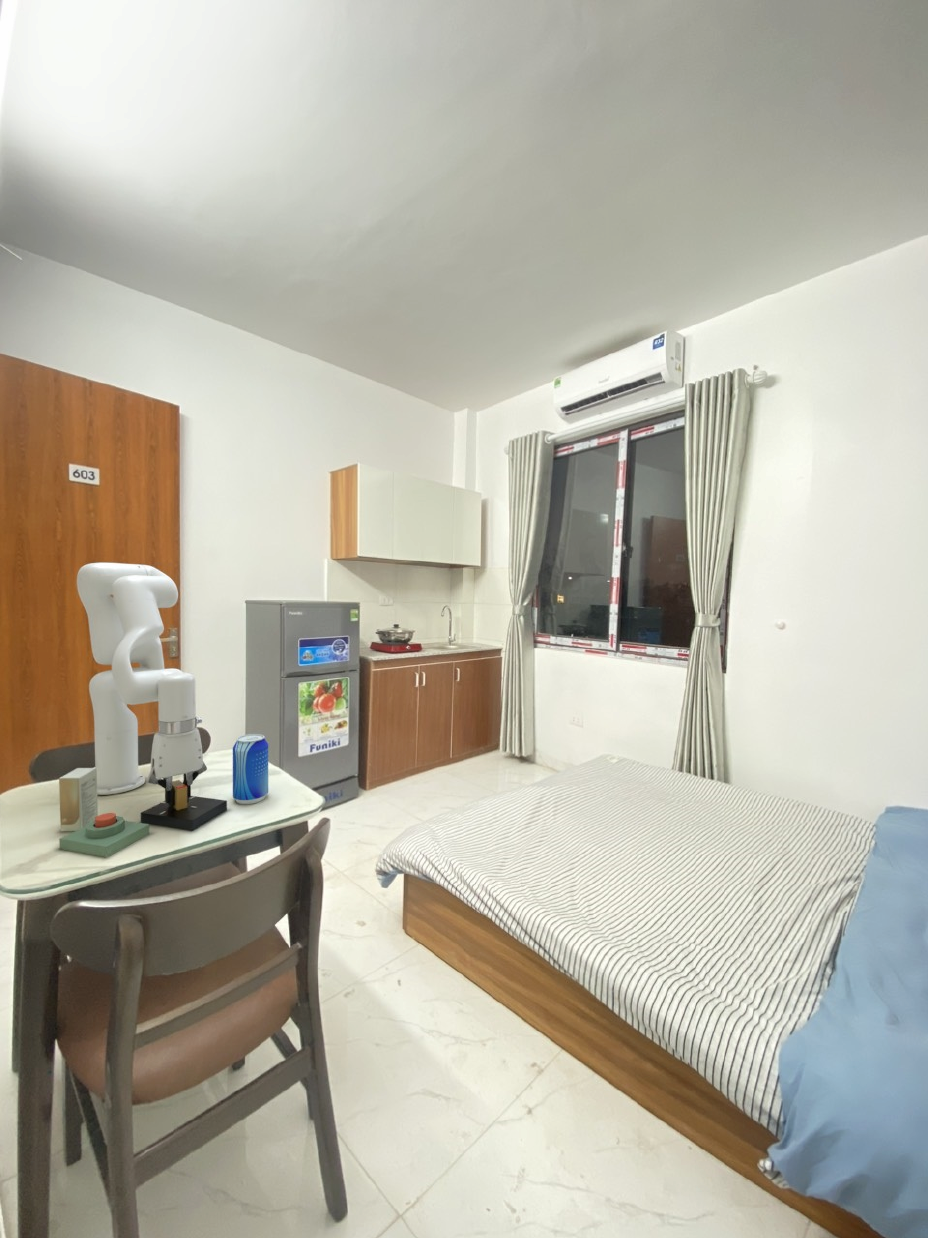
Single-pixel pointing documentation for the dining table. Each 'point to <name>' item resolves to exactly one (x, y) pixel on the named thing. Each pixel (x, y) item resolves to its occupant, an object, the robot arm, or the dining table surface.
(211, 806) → the base
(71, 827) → the cosmetic box
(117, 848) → the button block
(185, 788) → the tap handle
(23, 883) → the dining table surface
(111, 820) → the button
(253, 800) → the beer can
